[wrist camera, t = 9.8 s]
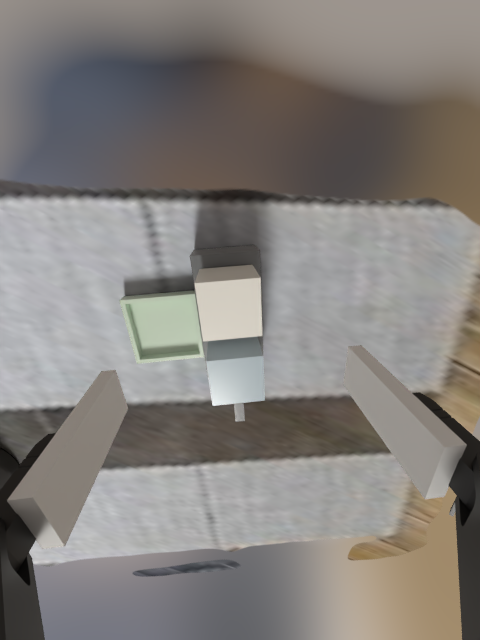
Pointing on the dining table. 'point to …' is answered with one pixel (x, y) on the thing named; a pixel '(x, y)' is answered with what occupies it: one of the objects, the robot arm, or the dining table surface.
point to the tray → (163, 326)
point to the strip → (223, 262)
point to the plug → (229, 302)
